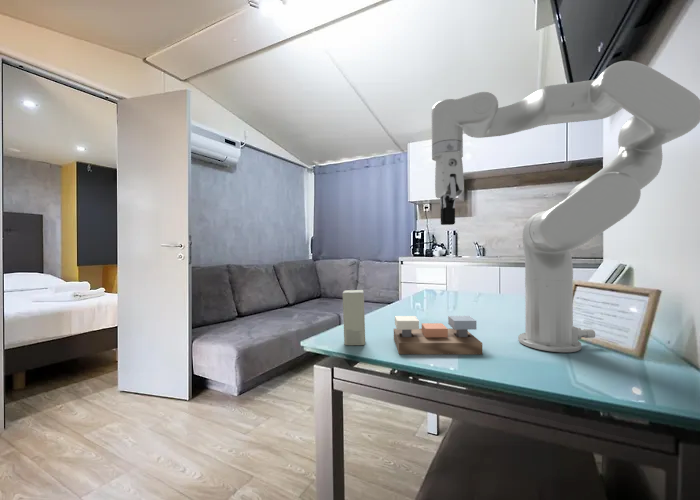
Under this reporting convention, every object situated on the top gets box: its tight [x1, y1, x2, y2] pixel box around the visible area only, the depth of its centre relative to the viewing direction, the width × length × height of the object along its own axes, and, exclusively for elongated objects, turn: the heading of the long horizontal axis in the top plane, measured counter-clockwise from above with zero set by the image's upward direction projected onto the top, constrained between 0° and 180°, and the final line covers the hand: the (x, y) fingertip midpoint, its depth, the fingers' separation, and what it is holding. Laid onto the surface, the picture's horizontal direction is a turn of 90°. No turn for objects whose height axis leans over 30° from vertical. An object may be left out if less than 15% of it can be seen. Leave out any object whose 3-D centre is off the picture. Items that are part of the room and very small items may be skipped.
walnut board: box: [393, 328, 483, 355], centre depth 75 cm, size 18×12×2 cm, turn 88°
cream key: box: [394, 315, 420, 337], centre depth 75 cm, size 5×5×4 cm
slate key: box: [447, 315, 477, 337], centre depth 74 cm, size 5×5×4 cm
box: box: [342, 289, 366, 346], centre depth 77 cm, size 5×4×13 cm
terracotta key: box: [421, 322, 449, 337], centre depth 75 cm, size 5×5×4 cm
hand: (447, 224), depth 80 cm, fingers closed
